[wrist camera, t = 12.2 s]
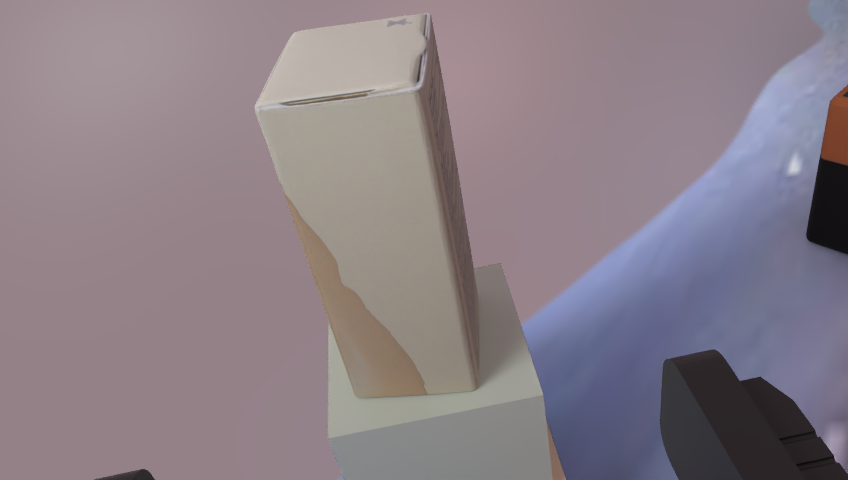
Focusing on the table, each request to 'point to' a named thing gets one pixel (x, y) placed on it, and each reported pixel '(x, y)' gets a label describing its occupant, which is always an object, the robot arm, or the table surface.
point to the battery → (832, 181)
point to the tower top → (450, 412)
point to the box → (378, 201)
